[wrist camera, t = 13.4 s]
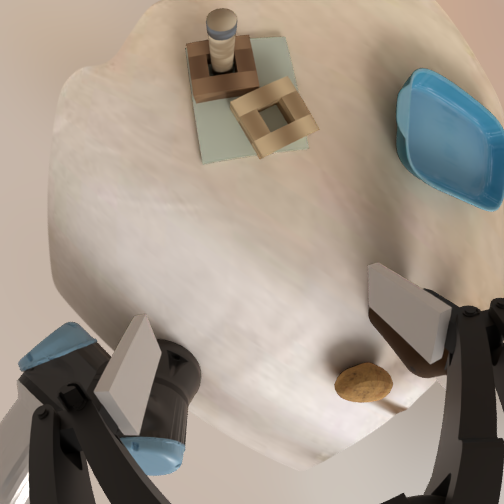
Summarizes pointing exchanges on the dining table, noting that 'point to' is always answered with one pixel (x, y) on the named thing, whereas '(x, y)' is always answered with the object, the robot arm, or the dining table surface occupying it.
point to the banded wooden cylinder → (221, 40)
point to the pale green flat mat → (218, 111)
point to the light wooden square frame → (289, 106)
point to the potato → (363, 383)
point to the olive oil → (408, 350)
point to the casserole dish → (450, 140)
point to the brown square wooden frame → (226, 83)
